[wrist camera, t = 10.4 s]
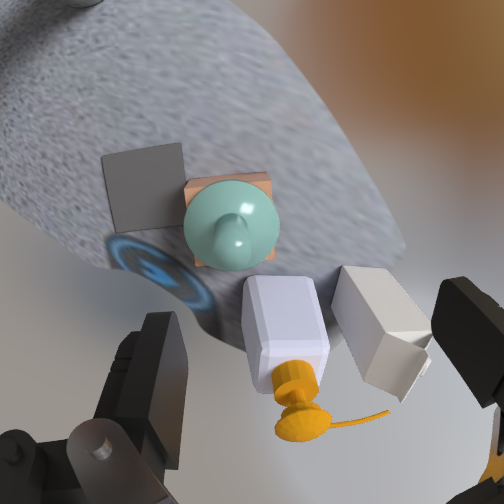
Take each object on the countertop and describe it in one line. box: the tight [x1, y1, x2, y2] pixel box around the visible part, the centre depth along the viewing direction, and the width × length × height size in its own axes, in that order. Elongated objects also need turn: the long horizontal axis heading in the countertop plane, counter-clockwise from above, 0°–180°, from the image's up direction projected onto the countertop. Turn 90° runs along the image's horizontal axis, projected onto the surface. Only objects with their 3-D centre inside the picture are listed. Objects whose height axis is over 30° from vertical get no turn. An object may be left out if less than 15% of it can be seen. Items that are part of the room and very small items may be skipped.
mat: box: [102, 143, 187, 233], centre depth 36 cm, size 10×10×1 cm
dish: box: [184, 172, 275, 267], centre depth 36 cm, size 9×9×5 cm
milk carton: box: [331, 265, 433, 403], centre depth 36 cm, size 7×7×19 cm
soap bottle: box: [241, 275, 390, 442], centre depth 34 cm, size 10×14×22 cm
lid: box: [184, 179, 280, 271], centre depth 31 cm, size 10×10×7 cm
